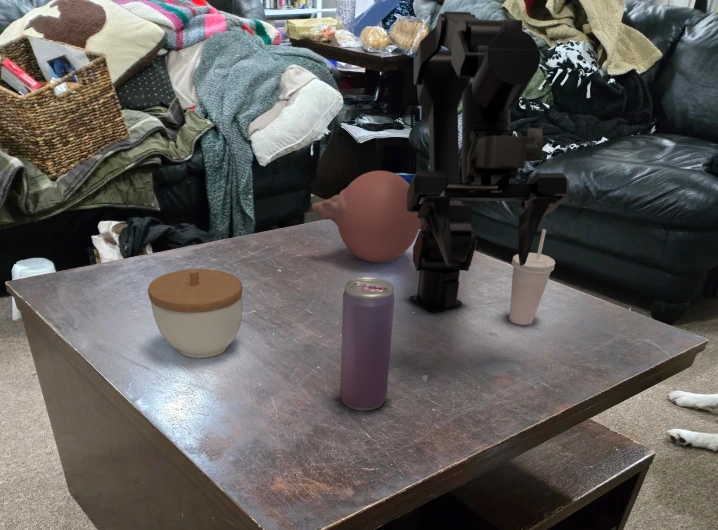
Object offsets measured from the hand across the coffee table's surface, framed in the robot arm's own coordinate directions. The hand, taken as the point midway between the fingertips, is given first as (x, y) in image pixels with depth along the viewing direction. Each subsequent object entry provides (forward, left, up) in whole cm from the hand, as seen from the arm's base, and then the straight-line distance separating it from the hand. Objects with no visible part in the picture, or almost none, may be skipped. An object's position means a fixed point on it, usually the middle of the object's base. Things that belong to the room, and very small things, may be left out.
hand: (486, 264), depth 78 cm
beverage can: (-2, -16, -15) cm, 23 cm away
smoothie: (-10, +20, -15) cm, 27 cm away
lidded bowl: (-26, -28, -15) cm, 41 cm away
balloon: (-45, +13, -15) cm, 49 cm away
